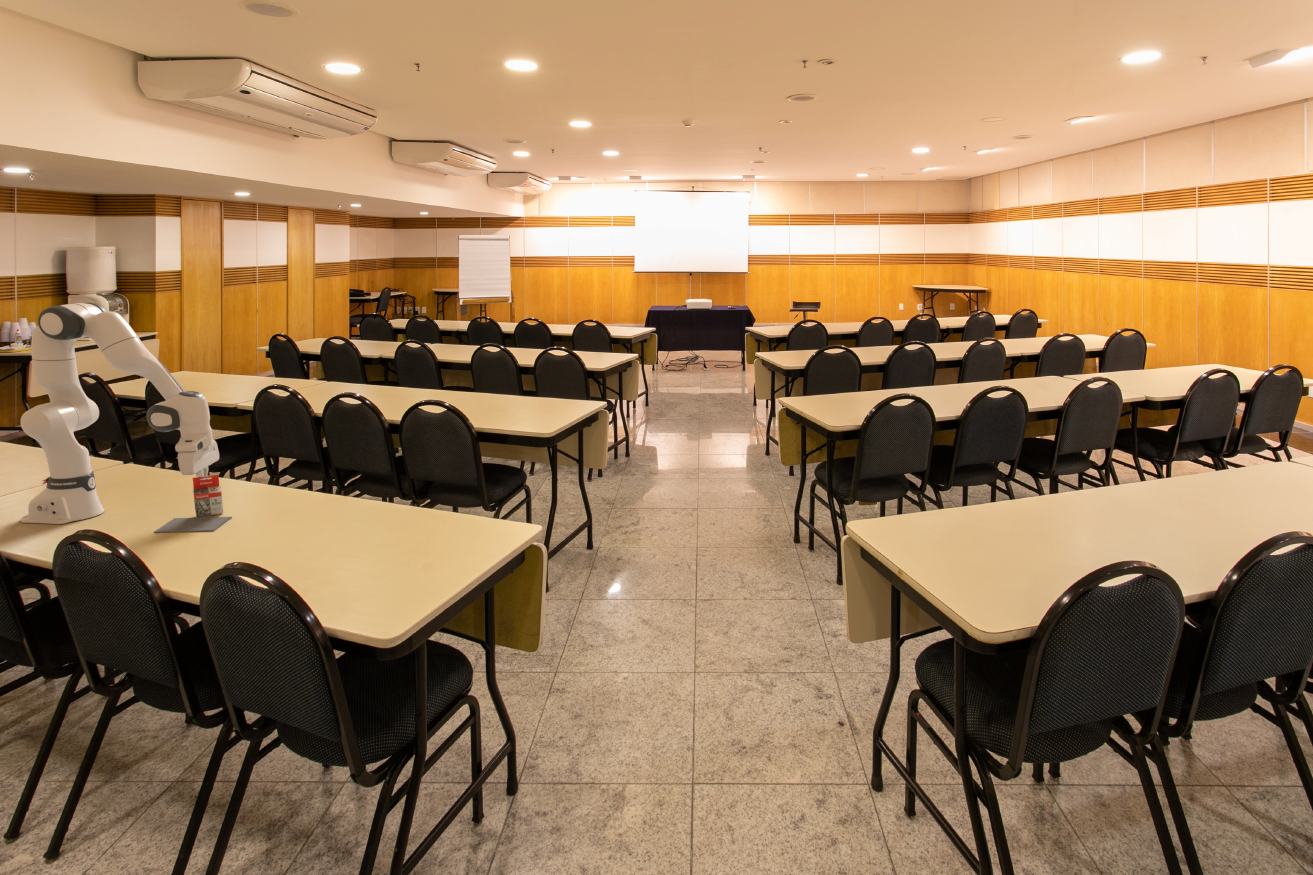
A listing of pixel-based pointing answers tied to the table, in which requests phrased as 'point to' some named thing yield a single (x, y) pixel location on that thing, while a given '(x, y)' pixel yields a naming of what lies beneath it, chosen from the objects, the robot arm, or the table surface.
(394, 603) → the table surface
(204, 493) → the ink box
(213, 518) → the mat
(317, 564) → the table surface
